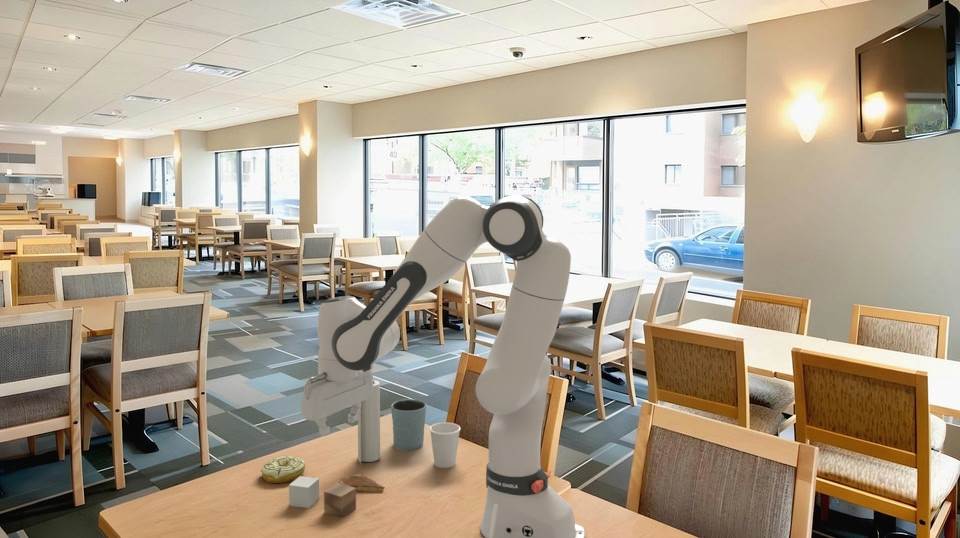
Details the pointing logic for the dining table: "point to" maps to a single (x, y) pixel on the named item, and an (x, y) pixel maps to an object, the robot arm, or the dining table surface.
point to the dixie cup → (445, 443)
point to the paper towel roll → (369, 427)
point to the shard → (361, 483)
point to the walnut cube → (339, 500)
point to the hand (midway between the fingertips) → (339, 428)
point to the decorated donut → (283, 469)
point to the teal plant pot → (408, 423)
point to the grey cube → (304, 492)
